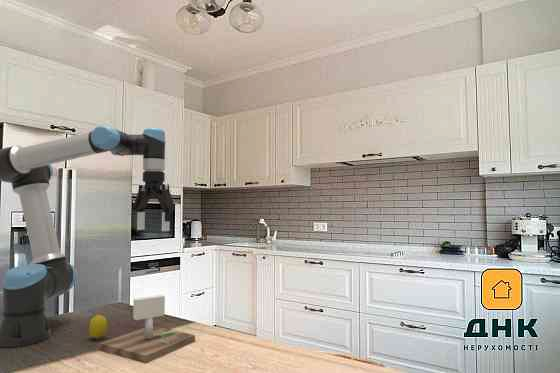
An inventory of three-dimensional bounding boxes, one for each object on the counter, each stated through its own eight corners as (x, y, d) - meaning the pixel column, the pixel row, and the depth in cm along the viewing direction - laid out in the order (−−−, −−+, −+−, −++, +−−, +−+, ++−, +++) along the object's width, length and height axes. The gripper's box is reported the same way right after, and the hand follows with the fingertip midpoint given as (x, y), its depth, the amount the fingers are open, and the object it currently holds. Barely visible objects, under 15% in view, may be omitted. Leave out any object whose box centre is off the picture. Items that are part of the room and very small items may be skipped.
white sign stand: (135, 342, 117) (135, 300, 118) (132, 339, 119) (133, 298, 120) (177, 333, 125) (178, 294, 126) (175, 331, 127) (175, 292, 128)
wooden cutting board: (99, 350, 117) (99, 342, 117) (150, 331, 134) (150, 325, 134) (145, 363, 107) (146, 355, 107) (195, 341, 125) (195, 334, 125)
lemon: (99, 342, 123) (100, 317, 124) (84, 341, 124) (85, 316, 125) (110, 337, 129) (111, 312, 129) (96, 335, 130) (96, 311, 130)
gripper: (185, 170, 136) (185, 231, 135) (140, 173, 150) (139, 228, 149) (169, 168, 130) (168, 232, 129) (123, 172, 144) (122, 229, 143)
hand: (152, 230), depth 139 cm, fingers open, 13 cm apart
